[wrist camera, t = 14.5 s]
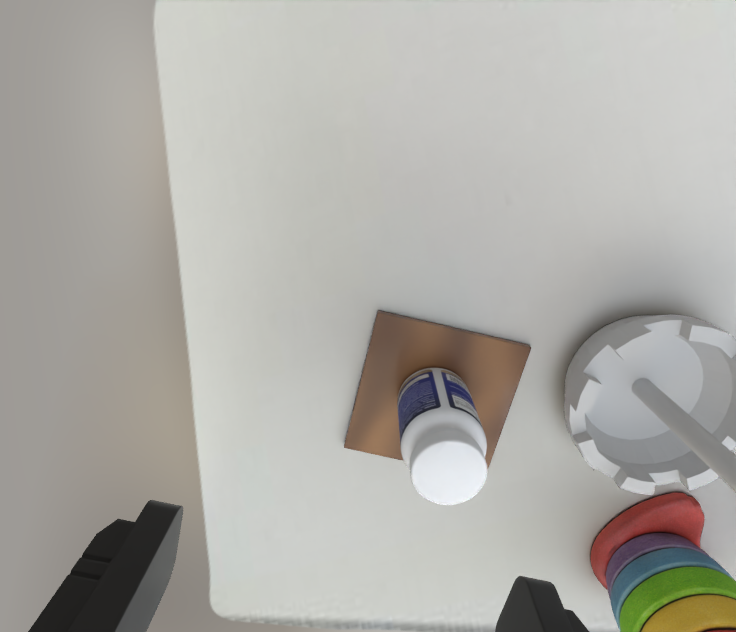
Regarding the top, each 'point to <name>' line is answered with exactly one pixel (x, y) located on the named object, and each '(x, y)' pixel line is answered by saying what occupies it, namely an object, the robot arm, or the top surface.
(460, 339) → the coaster
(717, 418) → the grey countertop holder stand
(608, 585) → the stacking bear
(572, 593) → the top surface
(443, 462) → the pill bottle
